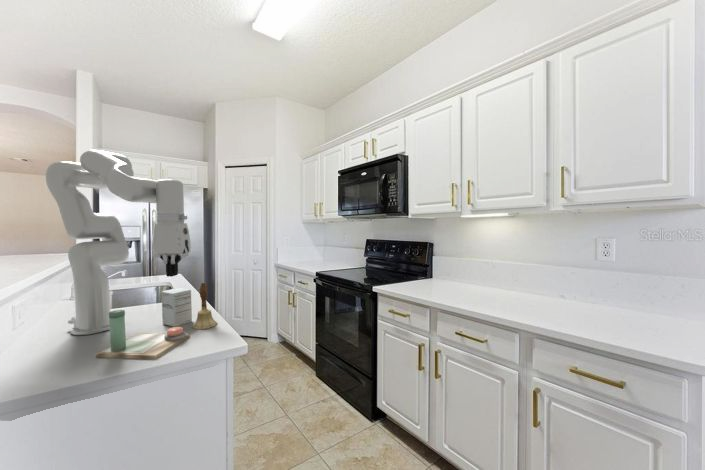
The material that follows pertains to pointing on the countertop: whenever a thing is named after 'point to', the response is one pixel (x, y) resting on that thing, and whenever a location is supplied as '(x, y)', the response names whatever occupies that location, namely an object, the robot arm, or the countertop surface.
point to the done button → (174, 331)
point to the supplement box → (176, 307)
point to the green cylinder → (117, 330)
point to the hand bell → (204, 312)
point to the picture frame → (146, 346)
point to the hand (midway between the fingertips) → (172, 275)
